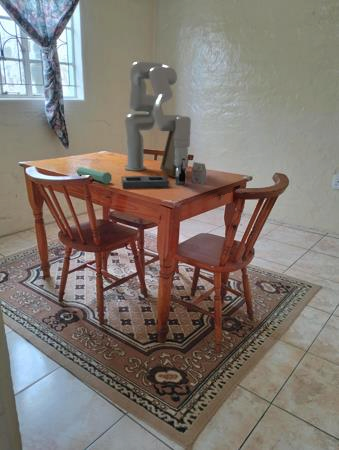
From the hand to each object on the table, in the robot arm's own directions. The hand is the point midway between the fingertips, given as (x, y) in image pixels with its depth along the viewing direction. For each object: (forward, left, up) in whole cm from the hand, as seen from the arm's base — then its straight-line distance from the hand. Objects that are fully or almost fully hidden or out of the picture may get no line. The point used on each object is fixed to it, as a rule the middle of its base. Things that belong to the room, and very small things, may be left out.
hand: (180, 179), depth 176 cm
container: (-16, -41, 0) cm, 44 cm away
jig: (0, -18, -2) cm, 18 cm away
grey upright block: (-3, +10, -3) cm, 11 cm away
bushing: (0, 0, -2) cm, 2 cm away
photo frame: (-26, +4, -3) cm, 26 cm away
